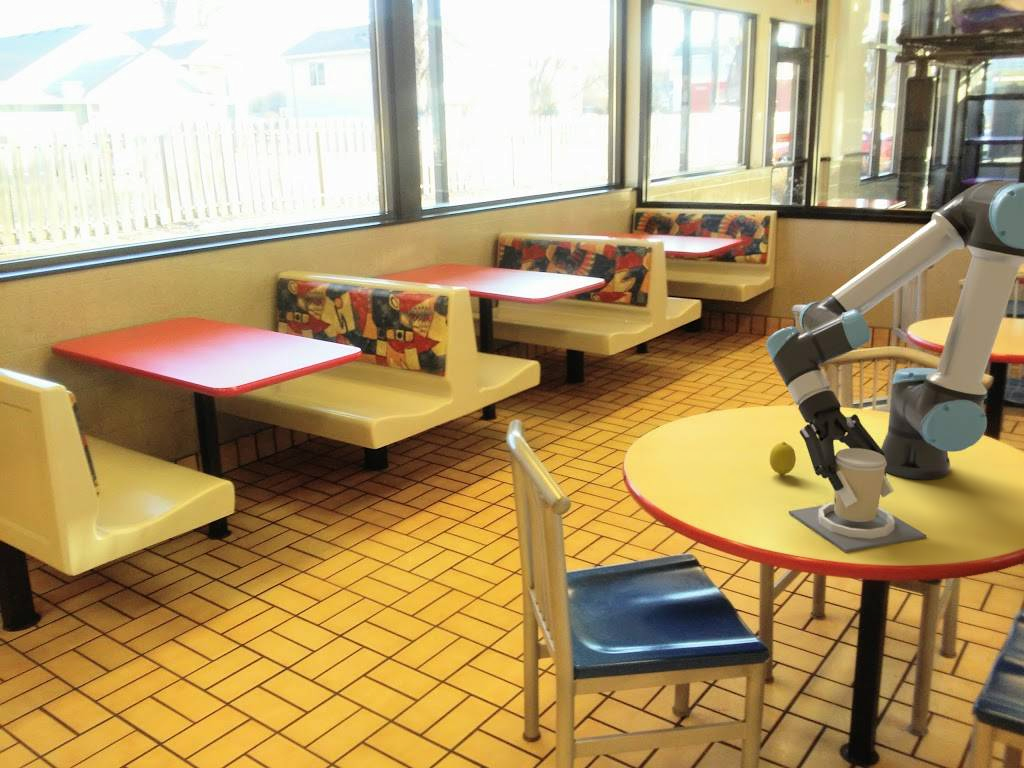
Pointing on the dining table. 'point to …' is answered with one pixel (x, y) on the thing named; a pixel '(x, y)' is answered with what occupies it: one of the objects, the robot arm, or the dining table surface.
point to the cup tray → (856, 542)
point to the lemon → (782, 458)
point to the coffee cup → (860, 483)
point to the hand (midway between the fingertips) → (870, 499)
